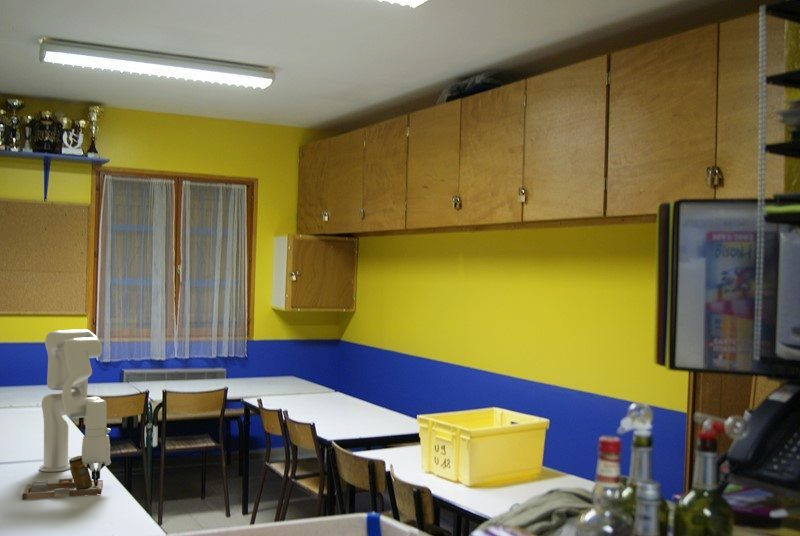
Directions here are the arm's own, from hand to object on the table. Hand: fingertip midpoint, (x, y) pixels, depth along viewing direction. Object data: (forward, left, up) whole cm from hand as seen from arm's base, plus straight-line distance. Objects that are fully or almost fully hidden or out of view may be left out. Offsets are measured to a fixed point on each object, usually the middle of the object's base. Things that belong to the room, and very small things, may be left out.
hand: (95, 480), depth 316 cm
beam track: (-1, -11, -4) cm, 12 cm away
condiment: (-1, -4, -3) cm, 5 cm away
